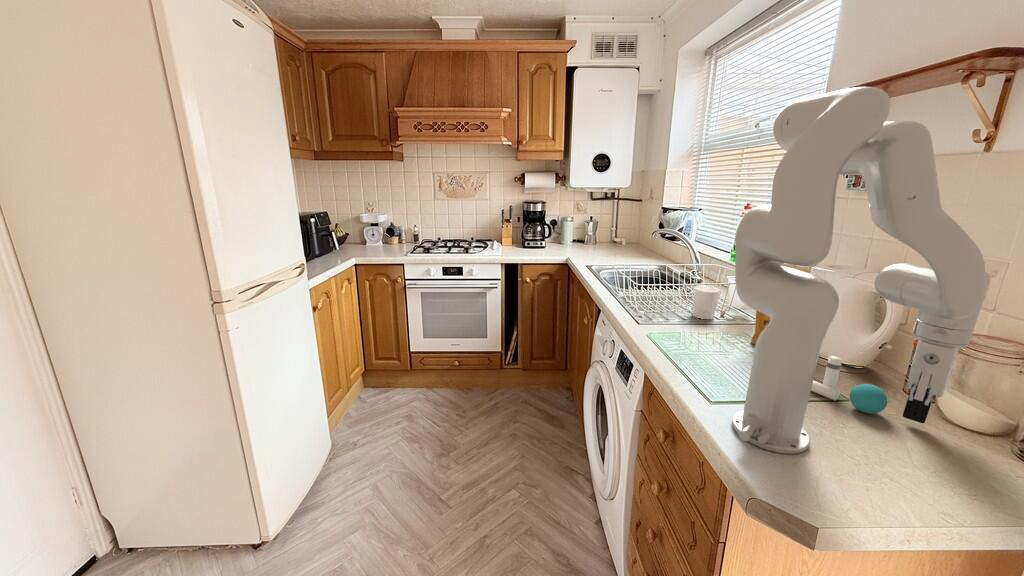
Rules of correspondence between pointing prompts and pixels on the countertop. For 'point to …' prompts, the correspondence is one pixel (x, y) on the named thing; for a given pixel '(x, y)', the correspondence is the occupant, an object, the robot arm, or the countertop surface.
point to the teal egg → (868, 398)
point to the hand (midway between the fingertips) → (913, 418)
